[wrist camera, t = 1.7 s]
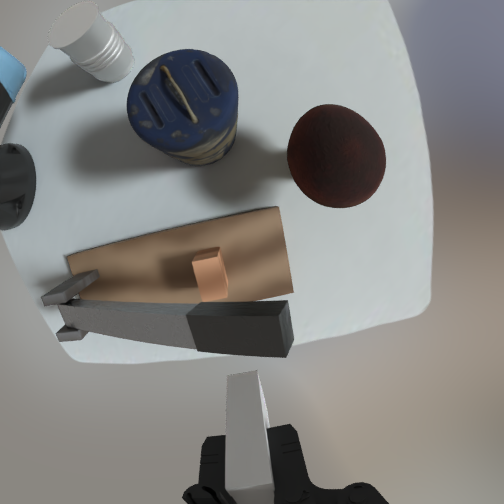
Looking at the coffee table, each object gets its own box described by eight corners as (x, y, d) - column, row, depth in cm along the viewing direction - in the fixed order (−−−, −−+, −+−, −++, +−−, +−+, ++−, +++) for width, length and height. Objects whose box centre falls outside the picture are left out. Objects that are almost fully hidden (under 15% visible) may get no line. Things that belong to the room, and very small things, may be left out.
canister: (176, 175, 36) (129, 166, 19) (160, 113, 34) (109, 64, 17) (244, 155, 36) (254, 127, 19) (226, 93, 34) (222, 26, 17)
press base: (73, 253, 38) (28, 276, 26) (276, 206, 38) (295, 214, 26) (96, 322, 40) (63, 360, 29) (290, 287, 41) (311, 325, 29)
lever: (65, 295, 30) (53, 302, 28) (287, 297, 19) (278, 313, 17) (75, 320, 31) (63, 327, 29) (294, 341, 20) (286, 359, 18)
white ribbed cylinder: (107, 47, 30) (64, 3, 16) (144, 49, 31) (109, -2, 17) (90, 83, 32) (38, 50, 17) (126, 87, 33) (80, 47, 18)
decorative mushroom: (269, 198, 38) (291, 205, 23) (275, 120, 35) (300, 82, 21) (344, 206, 39) (400, 218, 24) (350, 132, 36) (406, 109, 22)
